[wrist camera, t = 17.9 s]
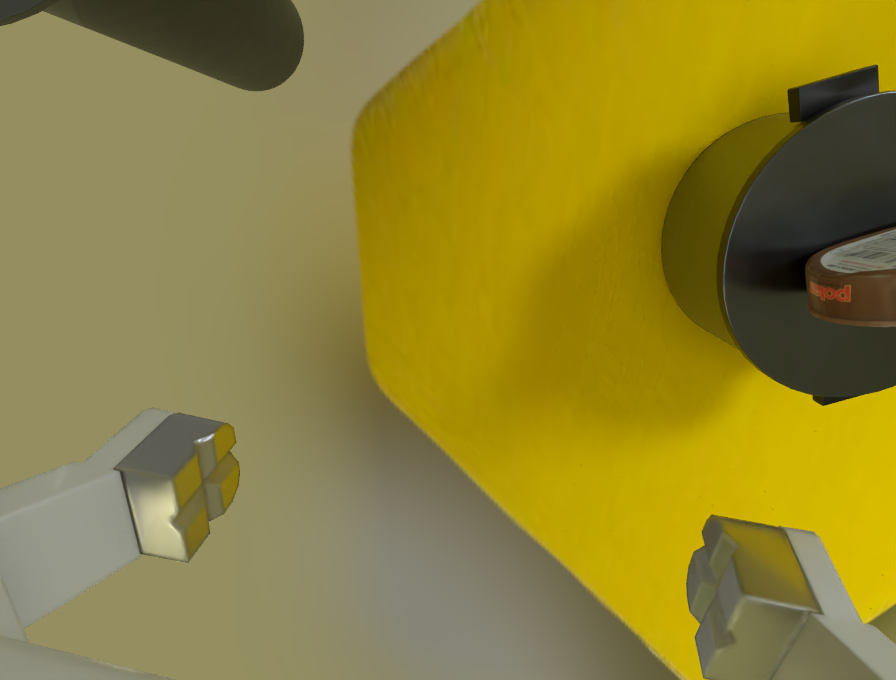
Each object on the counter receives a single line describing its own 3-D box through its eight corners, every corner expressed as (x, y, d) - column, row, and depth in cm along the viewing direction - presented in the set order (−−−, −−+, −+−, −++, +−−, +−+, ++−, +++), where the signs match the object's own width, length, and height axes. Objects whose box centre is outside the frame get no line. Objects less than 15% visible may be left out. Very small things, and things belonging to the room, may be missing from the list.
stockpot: (632, 127, 38) (700, 118, 29) (884, 53, 38) (1031, 22, 29) (675, 388, 44) (743, 447, 35) (893, 327, 44) (1017, 371, 35)
